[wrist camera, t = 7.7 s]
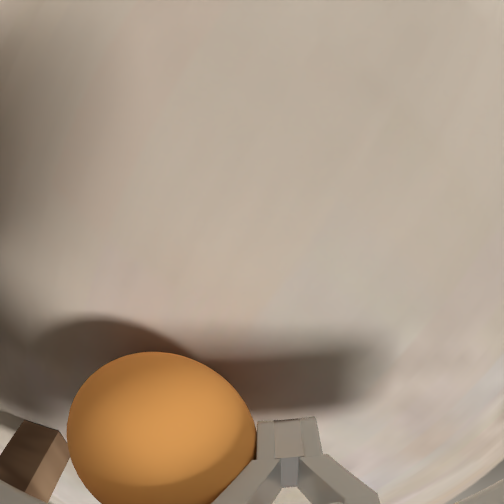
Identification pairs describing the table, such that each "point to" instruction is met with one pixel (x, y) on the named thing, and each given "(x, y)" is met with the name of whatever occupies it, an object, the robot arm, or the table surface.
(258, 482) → the robot arm
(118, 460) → the ball
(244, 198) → the table surface
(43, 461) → the bridge
